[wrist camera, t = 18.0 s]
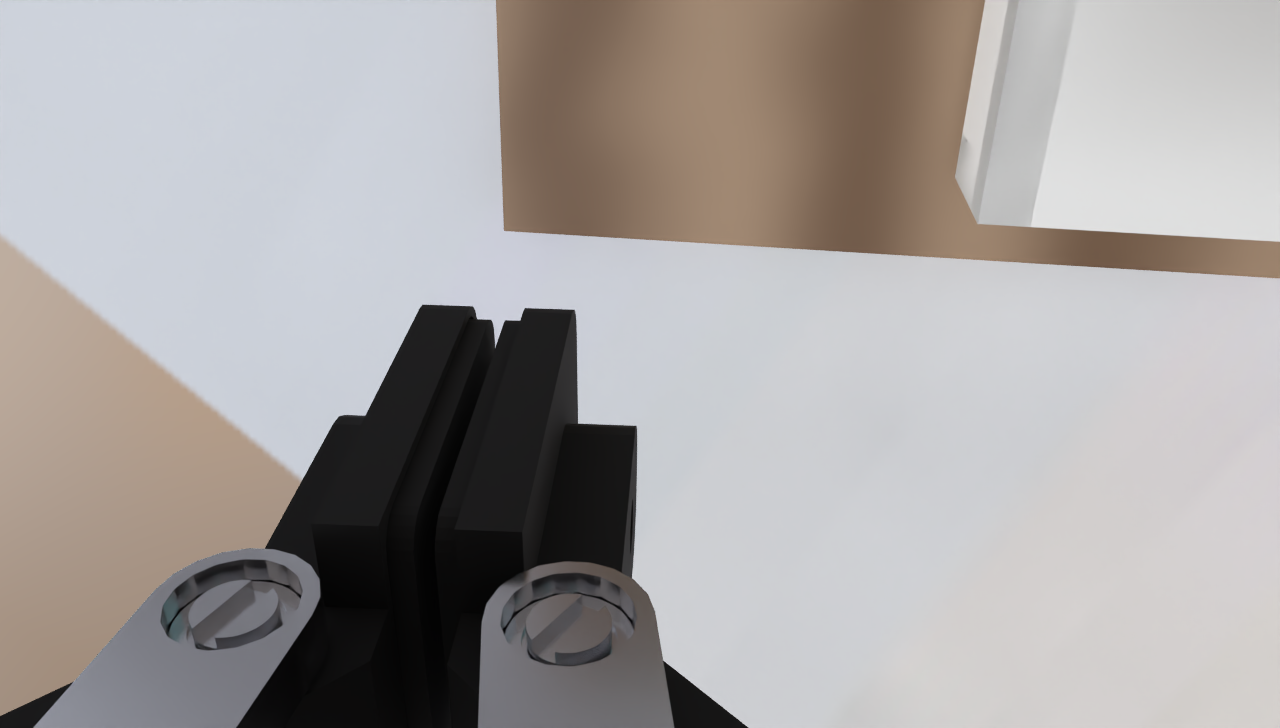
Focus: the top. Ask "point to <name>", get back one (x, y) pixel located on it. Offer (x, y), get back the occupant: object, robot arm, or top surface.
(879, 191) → the board
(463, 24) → the top surface
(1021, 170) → the cover
